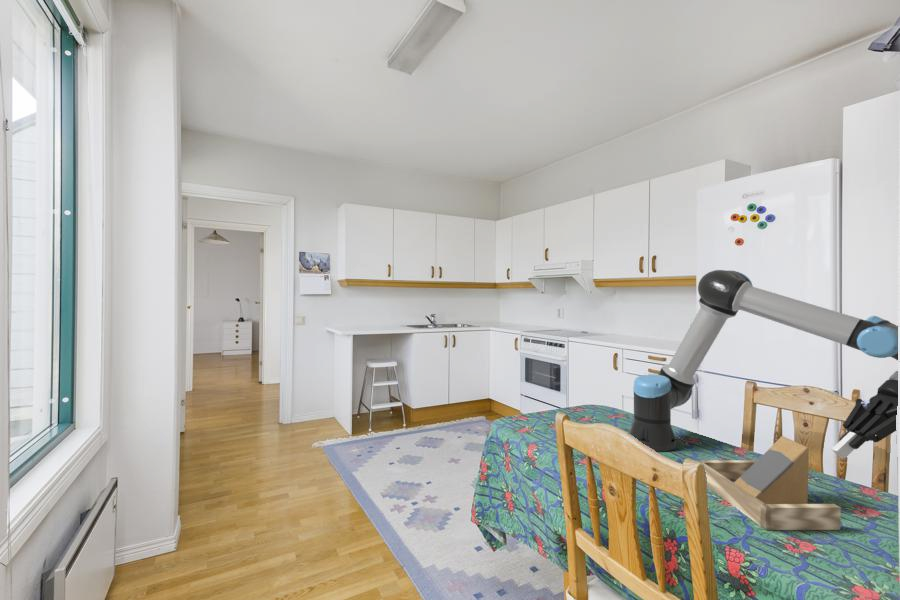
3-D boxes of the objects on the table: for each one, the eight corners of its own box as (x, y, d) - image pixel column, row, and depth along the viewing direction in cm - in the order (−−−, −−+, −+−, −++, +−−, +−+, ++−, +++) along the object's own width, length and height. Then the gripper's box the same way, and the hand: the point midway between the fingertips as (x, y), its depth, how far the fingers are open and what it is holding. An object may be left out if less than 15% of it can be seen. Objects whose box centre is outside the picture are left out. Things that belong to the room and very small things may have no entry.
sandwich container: (723, 490, 111) (723, 434, 111) (781, 490, 111) (781, 435, 110) (745, 506, 102) (745, 446, 102) (808, 507, 102) (809, 447, 102)
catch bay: (753, 477, 118) (753, 460, 118) (840, 529, 92) (840, 507, 92) (695, 477, 118) (695, 460, 118) (765, 530, 92) (766, 507, 92)
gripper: (947, 406, 97) (874, 476, 98) (888, 392, 110) (824, 454, 111) (925, 384, 97) (852, 453, 98) (869, 373, 110) (805, 434, 111)
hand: (837, 454), depth 104 cm, fingers closed
